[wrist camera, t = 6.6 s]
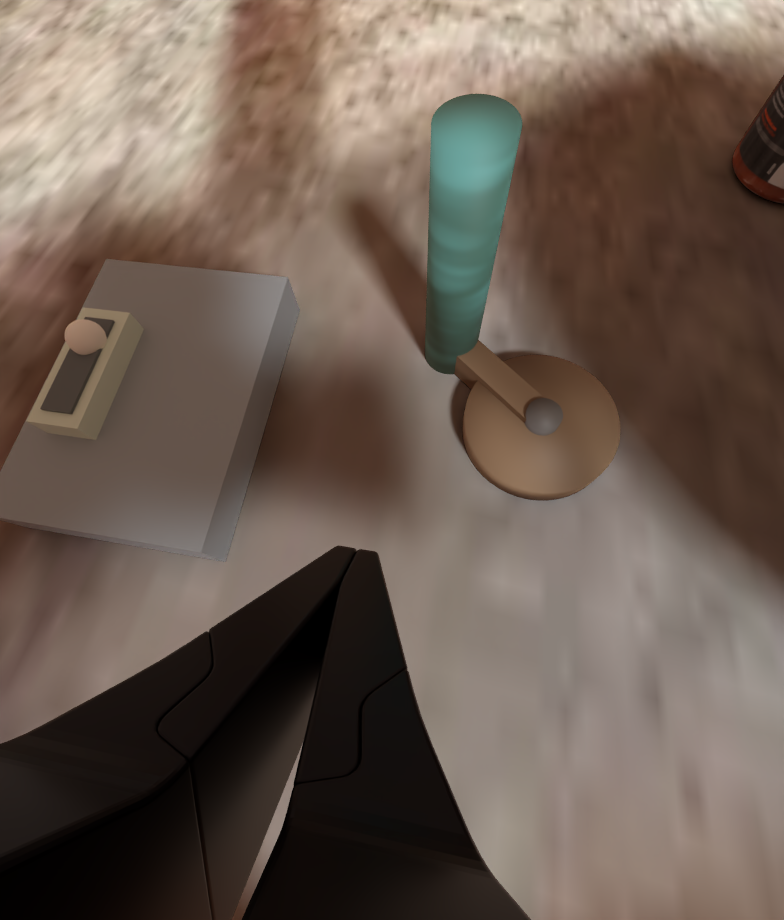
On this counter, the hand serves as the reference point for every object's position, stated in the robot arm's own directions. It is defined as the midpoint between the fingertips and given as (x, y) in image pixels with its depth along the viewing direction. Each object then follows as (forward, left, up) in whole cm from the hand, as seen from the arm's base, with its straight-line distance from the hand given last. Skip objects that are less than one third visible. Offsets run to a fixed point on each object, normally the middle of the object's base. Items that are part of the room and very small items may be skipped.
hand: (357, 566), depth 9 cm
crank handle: (+8, -8, -11) cm, 16 cm away
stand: (+11, +9, -11) cm, 18 cm away
